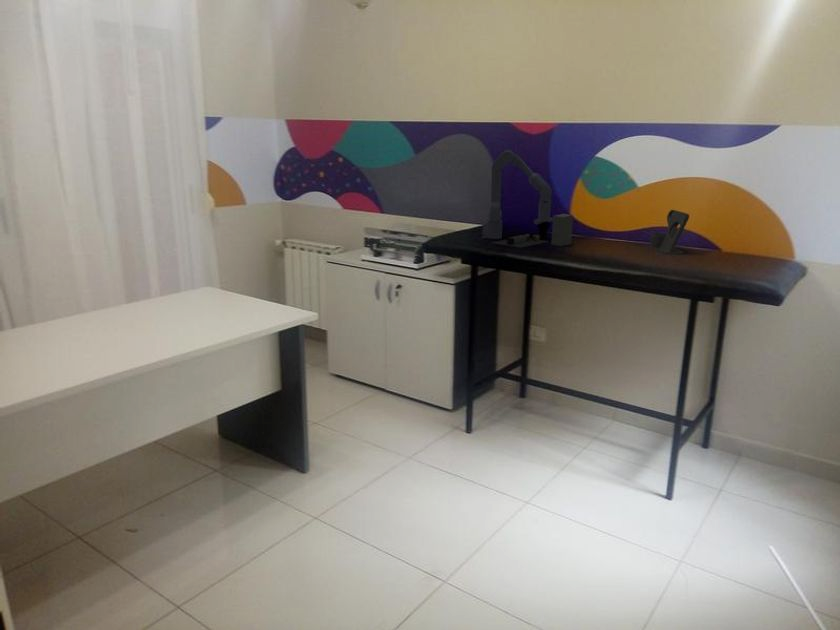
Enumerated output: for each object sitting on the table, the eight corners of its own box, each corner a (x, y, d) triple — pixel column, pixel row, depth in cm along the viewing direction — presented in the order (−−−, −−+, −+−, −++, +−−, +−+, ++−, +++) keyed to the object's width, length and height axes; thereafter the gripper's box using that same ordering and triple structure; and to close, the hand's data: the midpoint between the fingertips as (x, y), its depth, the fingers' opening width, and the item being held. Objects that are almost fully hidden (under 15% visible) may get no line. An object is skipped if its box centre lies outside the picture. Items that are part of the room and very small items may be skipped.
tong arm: (509, 244, 289) (509, 238, 288) (524, 240, 298) (525, 235, 297) (511, 244, 288) (511, 238, 288) (526, 241, 297) (526, 235, 297)
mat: (490, 244, 295) (490, 242, 294) (519, 238, 311) (519, 236, 311) (520, 249, 283) (520, 247, 282) (549, 242, 299) (549, 241, 299)
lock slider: (531, 240, 300) (532, 235, 299) (535, 239, 302) (535, 234, 301) (535, 240, 298) (536, 236, 298) (539, 239, 300) (539, 235, 300)
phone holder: (648, 247, 290) (652, 209, 285) (668, 247, 291) (673, 209, 285) (664, 254, 273) (669, 214, 268) (686, 254, 274) (691, 213, 269)
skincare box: (561, 244, 296) (563, 213, 292) (571, 246, 292) (574, 214, 287) (550, 246, 291) (552, 214, 287) (560, 247, 286) (562, 216, 282)
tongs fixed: (506, 244, 290) (506, 237, 289) (526, 240, 301) (526, 233, 301) (510, 245, 289) (511, 238, 288) (530, 240, 300) (530, 234, 299)
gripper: (543, 212, 293) (541, 240, 297) (559, 209, 303) (557, 236, 306) (530, 210, 297) (529, 238, 301) (547, 208, 307) (545, 235, 311)
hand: (542, 237), depth 304 cm, fingers closed
